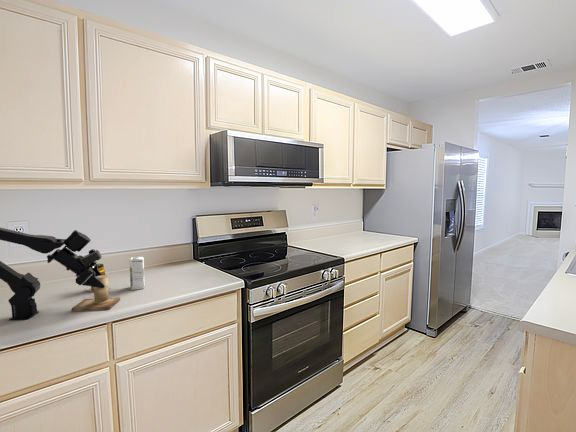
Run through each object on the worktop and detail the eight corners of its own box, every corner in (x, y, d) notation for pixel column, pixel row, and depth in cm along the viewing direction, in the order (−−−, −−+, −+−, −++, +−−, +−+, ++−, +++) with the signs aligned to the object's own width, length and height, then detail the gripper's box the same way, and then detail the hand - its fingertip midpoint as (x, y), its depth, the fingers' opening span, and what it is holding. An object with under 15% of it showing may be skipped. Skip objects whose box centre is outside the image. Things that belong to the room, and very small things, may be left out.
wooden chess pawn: (90, 305, 126) (88, 279, 125) (97, 299, 132) (95, 275, 131) (106, 304, 126) (104, 279, 125) (112, 299, 132) (111, 274, 131)
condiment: (95, 293, 143) (93, 267, 142) (84, 290, 147) (83, 265, 146) (110, 288, 150) (109, 263, 149) (100, 285, 154) (98, 261, 153)
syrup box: (131, 286, 152) (130, 257, 151) (145, 285, 154) (143, 256, 153) (130, 290, 147) (128, 259, 146) (144, 288, 149) (142, 258, 148)
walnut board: (71, 311, 123) (71, 308, 123) (85, 301, 133) (84, 298, 133) (109, 309, 125) (109, 306, 125) (120, 300, 135) (120, 297, 135)
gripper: (83, 249, 116) (119, 274, 123) (89, 240, 133) (120, 263, 139) (59, 272, 114) (97, 297, 120) (68, 261, 130) (100, 283, 136)
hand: (104, 283), depth 129 cm, fingers open, 9 cm apart
